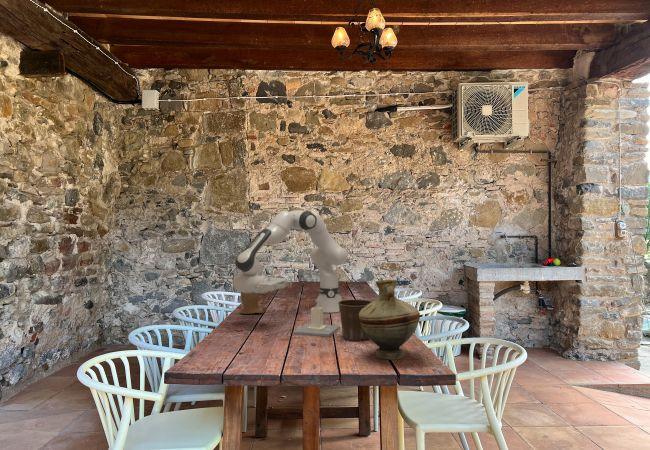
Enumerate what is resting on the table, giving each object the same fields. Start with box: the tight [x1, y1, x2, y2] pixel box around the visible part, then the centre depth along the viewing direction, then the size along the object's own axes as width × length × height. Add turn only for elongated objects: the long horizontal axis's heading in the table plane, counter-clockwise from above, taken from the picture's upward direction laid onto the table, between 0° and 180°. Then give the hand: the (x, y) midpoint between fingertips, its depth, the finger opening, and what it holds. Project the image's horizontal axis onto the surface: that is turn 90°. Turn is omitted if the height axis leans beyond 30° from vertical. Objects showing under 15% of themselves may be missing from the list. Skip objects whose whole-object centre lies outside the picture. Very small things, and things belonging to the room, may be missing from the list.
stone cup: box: [239, 292, 267, 315], centre depth 255 cm, size 15×12×15 cm
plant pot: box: [338, 299, 373, 342], centre depth 197 cm, size 16×16×16 cm
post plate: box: [292, 323, 341, 338], centre depth 210 cm, size 18×18×8 cm
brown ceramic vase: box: [359, 279, 421, 361], centre depth 168 cm, size 24×24×30 cm
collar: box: [307, 306, 328, 331], centre depth 210 cm, size 8×8×10 cm
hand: (288, 285), depth 215 cm, fingers open, 8 cm apart
